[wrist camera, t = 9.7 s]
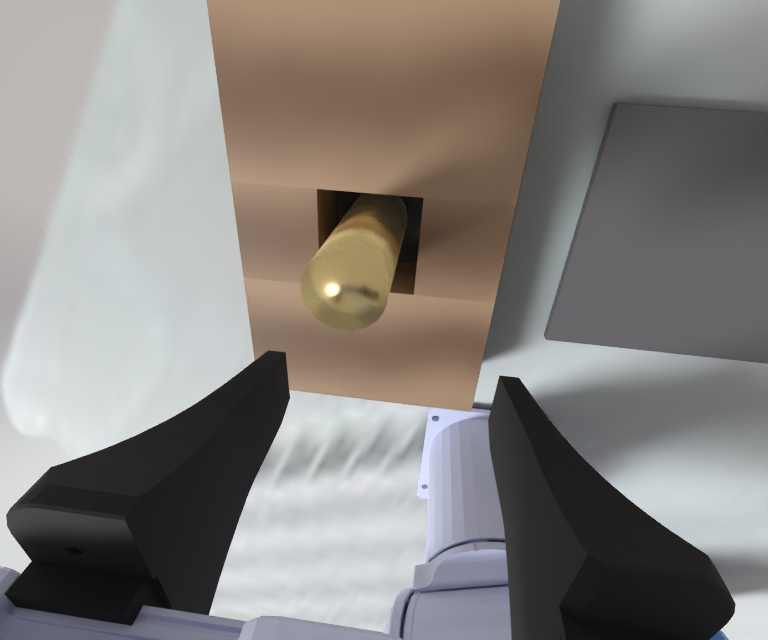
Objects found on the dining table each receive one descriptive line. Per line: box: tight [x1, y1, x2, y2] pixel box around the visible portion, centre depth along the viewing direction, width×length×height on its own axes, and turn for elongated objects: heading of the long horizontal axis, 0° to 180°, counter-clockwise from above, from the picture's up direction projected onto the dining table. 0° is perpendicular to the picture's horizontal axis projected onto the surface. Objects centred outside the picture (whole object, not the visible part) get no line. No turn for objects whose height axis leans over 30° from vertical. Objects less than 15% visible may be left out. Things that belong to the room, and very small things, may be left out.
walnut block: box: [207, 0, 561, 412], centre depth 20 cm, size 18×12×4 cm, turn 177°
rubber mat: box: [544, 103, 768, 363], centre depth 20 cm, size 12×12×1 cm
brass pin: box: [301, 193, 408, 331], centre depth 18 cm, size 3×3×9 cm
